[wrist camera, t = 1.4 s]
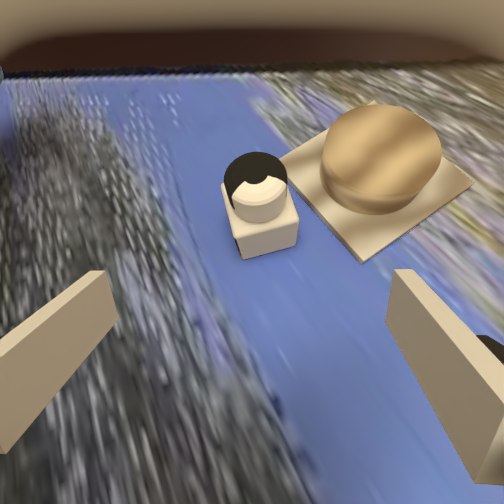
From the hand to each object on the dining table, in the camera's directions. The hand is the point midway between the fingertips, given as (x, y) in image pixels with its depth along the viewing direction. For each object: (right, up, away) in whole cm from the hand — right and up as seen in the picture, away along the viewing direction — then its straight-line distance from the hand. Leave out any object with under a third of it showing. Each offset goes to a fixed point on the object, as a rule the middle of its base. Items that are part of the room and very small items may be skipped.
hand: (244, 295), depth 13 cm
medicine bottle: (+2, +5, +24) cm, 25 cm away
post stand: (+16, +12, +26) cm, 33 cm away
